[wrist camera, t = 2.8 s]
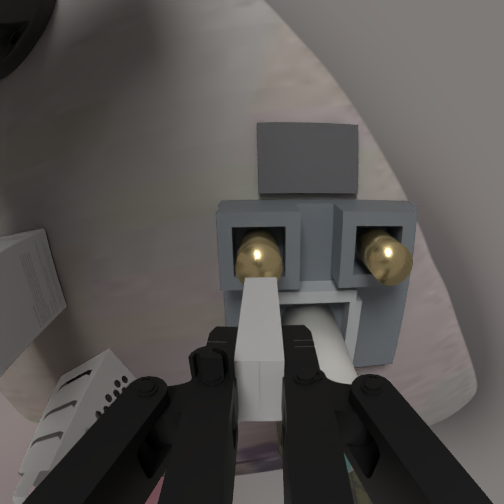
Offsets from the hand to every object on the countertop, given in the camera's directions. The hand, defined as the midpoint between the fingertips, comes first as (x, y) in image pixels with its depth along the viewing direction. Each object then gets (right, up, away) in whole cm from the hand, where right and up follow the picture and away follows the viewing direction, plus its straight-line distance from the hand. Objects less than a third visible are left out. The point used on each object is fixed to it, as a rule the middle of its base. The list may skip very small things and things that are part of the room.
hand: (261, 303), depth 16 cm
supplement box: (-25, 0, +13) cm, 28 cm away
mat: (+4, +10, +9) cm, 14 cm away
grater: (-17, -15, +18) cm, 29 cm away
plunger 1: (0, +3, +7) cm, 8 cm away
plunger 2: (+9, +3, +7) cm, 12 cm away
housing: (+5, -1, +13) cm, 14 cm away
